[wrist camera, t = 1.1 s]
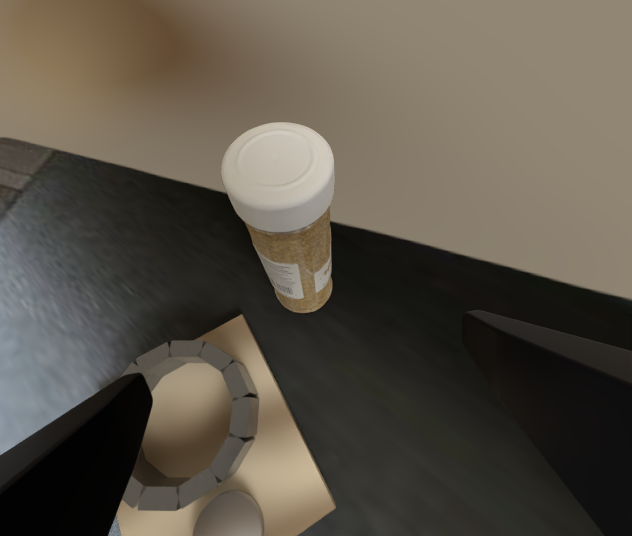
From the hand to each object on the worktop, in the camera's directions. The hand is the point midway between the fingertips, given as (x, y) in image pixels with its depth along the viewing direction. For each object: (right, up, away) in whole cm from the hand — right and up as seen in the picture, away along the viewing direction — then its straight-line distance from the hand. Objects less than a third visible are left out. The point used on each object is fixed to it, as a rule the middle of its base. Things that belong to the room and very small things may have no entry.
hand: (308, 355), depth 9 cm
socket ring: (-8, -7, +11) cm, 15 cm away
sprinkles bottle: (-1, +1, +16) cm, 16 cm away
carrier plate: (-7, -9, +11) cm, 16 cm away
